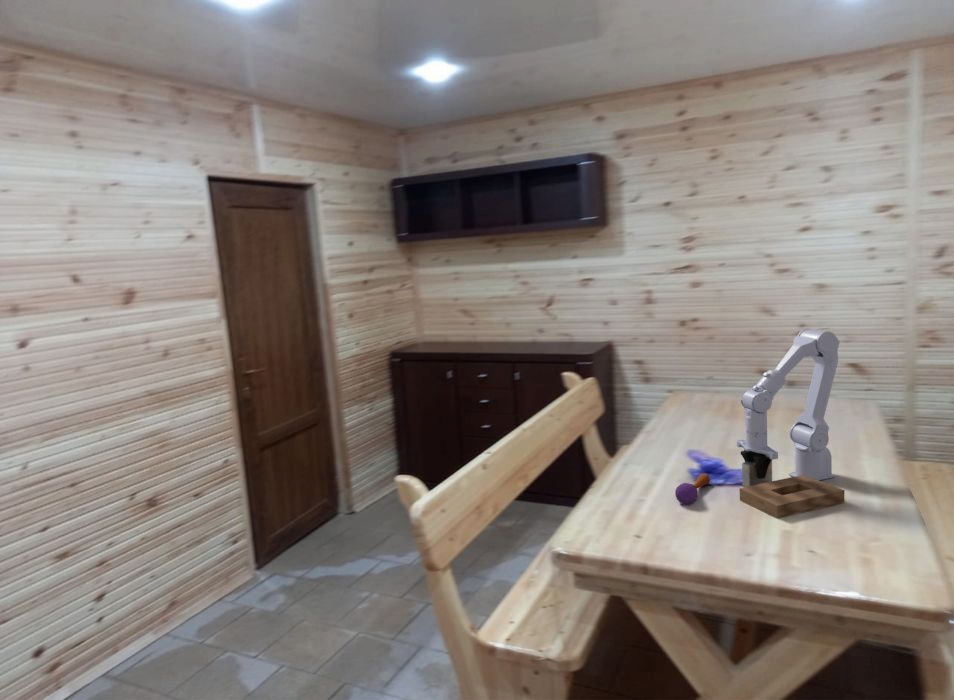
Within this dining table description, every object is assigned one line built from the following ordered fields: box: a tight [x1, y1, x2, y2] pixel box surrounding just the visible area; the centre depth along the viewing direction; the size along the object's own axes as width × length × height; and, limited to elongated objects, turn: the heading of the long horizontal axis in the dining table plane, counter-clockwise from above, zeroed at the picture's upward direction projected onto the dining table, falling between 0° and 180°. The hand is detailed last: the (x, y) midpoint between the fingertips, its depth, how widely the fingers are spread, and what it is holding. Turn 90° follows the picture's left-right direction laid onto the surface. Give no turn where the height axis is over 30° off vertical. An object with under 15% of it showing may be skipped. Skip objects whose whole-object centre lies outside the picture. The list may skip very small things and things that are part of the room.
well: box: [739, 475, 846, 520], centre depth 173 cm, size 22×14×4 cm, turn 107°
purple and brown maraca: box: [674, 473, 711, 506], centre depth 183 cm, size 6×6×20 cm
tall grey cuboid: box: [741, 460, 773, 487], centre depth 186 cm, size 8×3×7 cm, turn 107°
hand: (757, 476), depth 186 cm, fingers closed on tall grey cuboid, 3 cm apart
